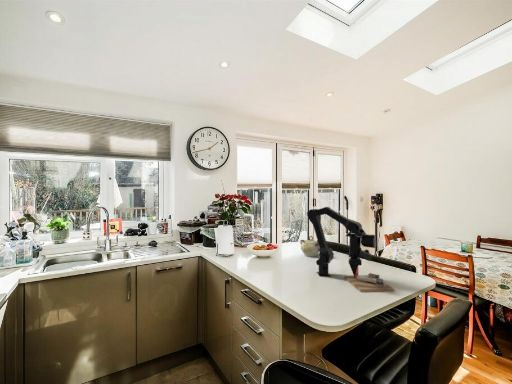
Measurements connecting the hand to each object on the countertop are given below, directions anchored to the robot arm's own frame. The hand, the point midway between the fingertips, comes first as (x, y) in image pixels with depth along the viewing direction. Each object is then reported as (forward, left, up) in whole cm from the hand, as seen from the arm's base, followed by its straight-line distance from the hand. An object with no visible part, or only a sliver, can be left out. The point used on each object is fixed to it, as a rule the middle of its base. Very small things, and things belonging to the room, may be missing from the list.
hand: (354, 273), depth 137 cm
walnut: (+3, +8, -1) cm, 9 cm away
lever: (+5, +5, -2) cm, 7 cm away
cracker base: (+4, +5, -4) cm, 8 cm away
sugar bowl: (-56, -9, -4) cm, 57 cm away
